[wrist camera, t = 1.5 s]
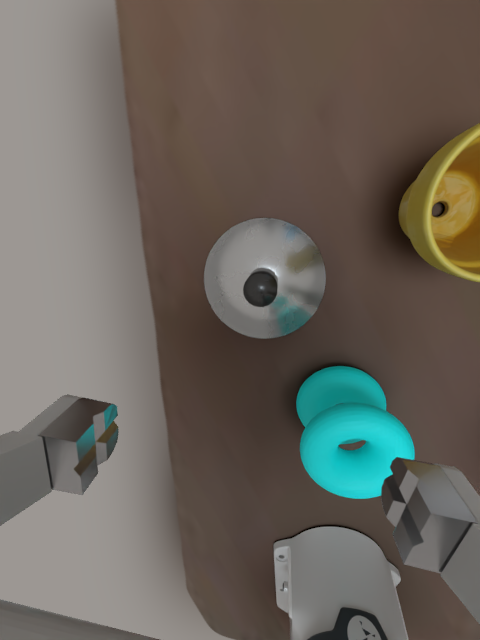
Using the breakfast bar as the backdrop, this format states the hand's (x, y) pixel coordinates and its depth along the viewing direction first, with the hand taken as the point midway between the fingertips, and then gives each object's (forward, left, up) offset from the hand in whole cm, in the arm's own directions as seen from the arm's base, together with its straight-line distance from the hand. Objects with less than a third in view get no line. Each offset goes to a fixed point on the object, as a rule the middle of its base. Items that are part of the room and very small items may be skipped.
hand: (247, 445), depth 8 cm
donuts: (-13, -10, -24) cm, 29 cm away
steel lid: (0, +1, -24) cm, 24 cm away
